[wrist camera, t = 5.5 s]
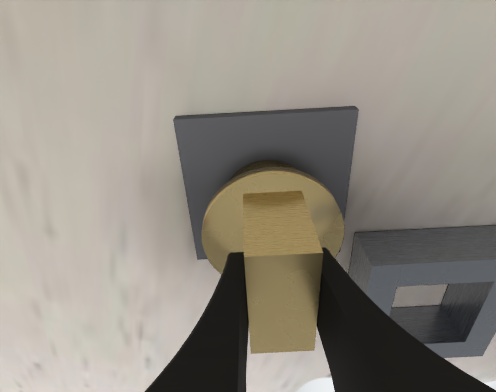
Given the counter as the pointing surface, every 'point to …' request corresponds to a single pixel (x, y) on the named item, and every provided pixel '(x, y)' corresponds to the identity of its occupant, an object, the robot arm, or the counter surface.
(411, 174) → the counter surface
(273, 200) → the end cover
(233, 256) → the robot arm
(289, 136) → the mat
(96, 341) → the counter surface
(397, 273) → the housing
